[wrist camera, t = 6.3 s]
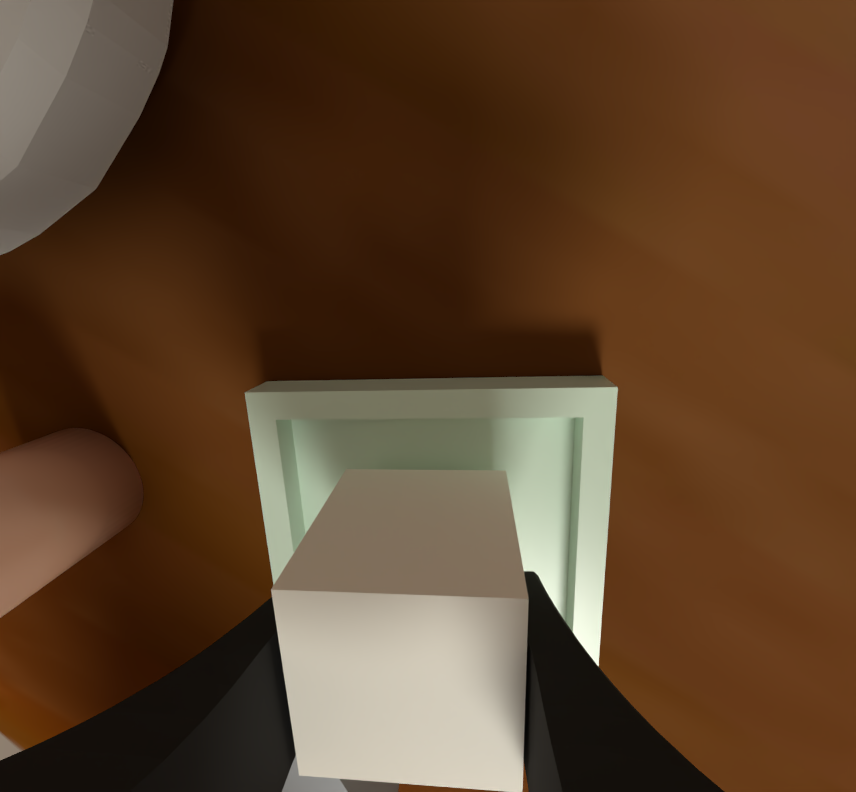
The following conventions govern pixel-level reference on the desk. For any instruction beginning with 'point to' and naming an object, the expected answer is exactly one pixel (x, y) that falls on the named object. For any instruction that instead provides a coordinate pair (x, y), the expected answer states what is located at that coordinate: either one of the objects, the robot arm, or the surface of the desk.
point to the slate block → (332, 784)
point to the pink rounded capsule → (60, 506)
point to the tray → (453, 462)
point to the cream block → (408, 632)
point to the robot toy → (69, 100)
